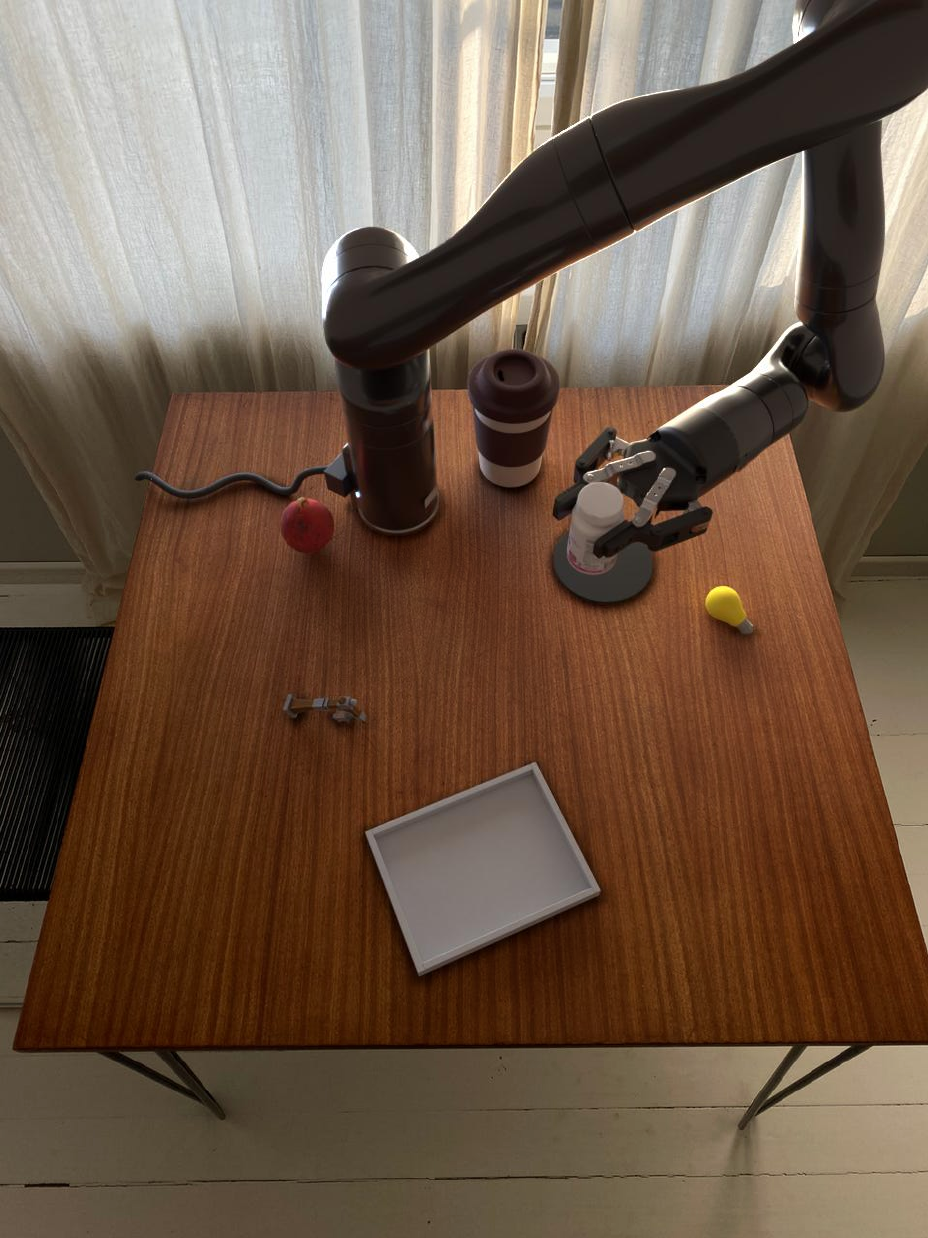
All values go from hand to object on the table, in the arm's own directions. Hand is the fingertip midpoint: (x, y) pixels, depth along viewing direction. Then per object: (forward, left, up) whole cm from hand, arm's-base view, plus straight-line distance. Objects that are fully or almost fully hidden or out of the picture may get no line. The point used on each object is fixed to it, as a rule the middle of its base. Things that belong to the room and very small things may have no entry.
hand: (576, 531), depth 77 cm
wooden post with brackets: (-15, -20, -18) cm, 31 cm away
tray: (+6, -25, -18) cm, 31 cm away
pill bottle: (+1, +2, -6) cm, 7 cm away
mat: (0, +11, -18) cm, 21 cm away
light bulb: (+15, +12, -16) cm, 25 cm away
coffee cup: (-16, +18, -18) cm, 30 cm away
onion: (-29, -4, -18) cm, 35 cm away
